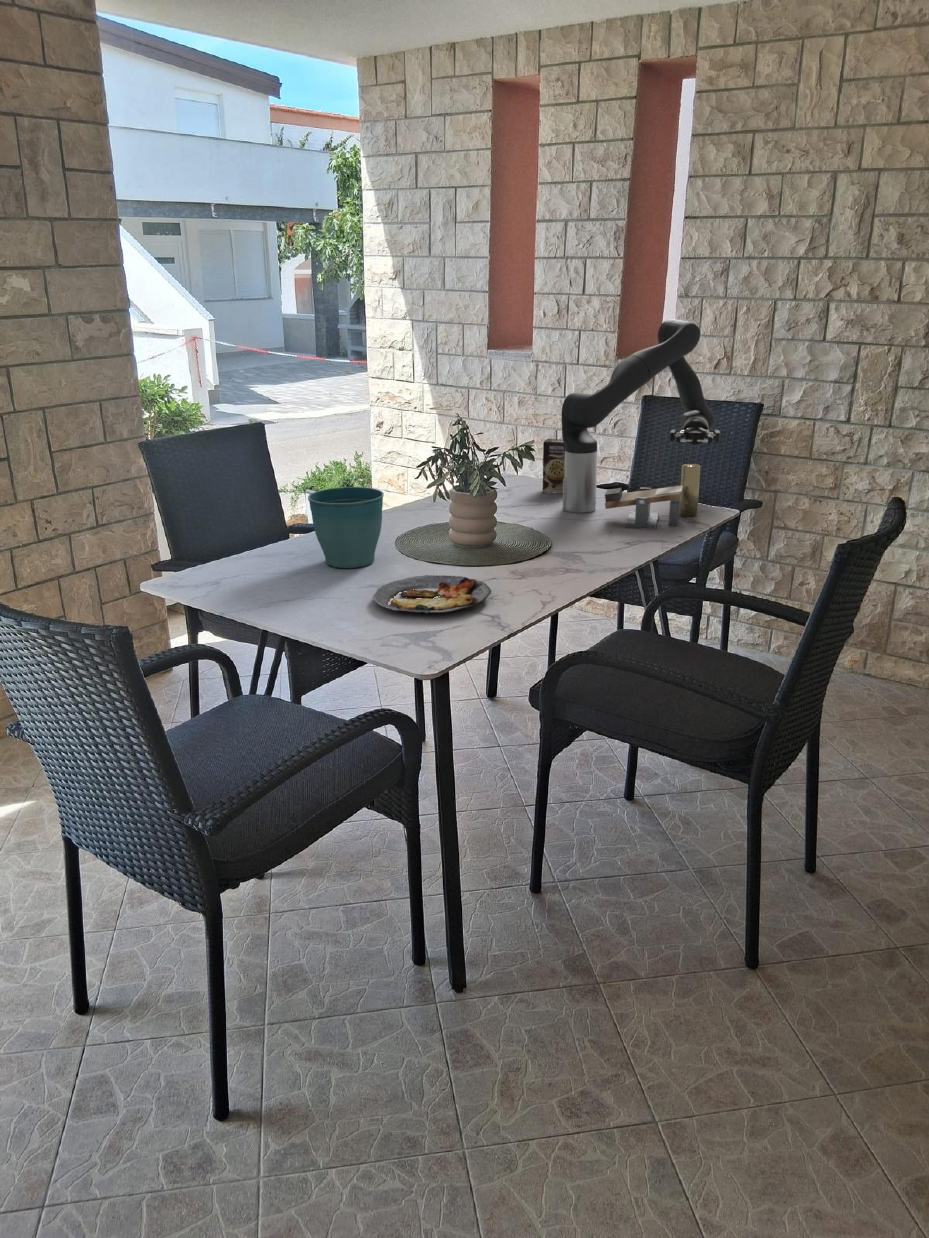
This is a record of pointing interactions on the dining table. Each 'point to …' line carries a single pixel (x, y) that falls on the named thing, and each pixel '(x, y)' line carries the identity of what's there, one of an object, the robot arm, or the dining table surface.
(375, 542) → the flower pot
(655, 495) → the beam
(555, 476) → the cookie box
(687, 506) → the block
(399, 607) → the food plate
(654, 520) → the beam stand
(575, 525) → the dining table surface
